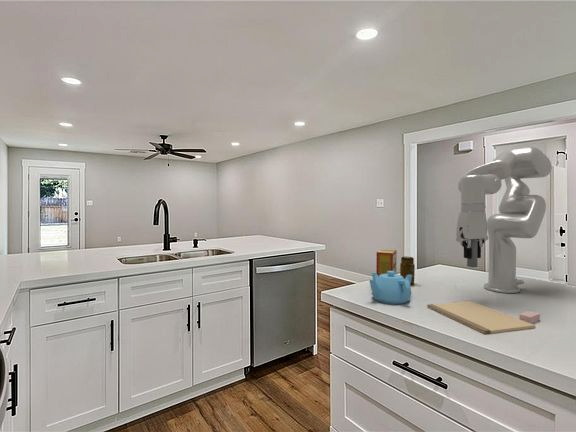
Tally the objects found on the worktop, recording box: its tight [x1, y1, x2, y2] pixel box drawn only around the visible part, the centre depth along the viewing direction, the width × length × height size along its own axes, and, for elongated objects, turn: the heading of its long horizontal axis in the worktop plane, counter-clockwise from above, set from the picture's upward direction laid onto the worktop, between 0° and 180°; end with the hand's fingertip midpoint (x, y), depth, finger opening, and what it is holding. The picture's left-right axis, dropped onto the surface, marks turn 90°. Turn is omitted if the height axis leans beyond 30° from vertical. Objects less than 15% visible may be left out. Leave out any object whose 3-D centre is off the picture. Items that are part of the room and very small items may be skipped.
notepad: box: [426, 300, 536, 335], centre depth 104 cm, size 18×24×1 cm
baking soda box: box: [375, 248, 398, 276], centre depth 141 cm, size 10×6×16 cm
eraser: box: [518, 310, 541, 325], centre depth 101 cm, size 6×3×2 cm, turn 121°
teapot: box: [369, 271, 412, 305], centre depth 123 cm, size 15×15×11 cm
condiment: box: [399, 256, 421, 287], centre depth 146 cm, size 7×8×12 cm
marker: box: [466, 239, 479, 268], centre depth 121 cm, size 4×4×12 cm
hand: (472, 257), depth 121 cm, fingers closed on marker, 3 cm apart
